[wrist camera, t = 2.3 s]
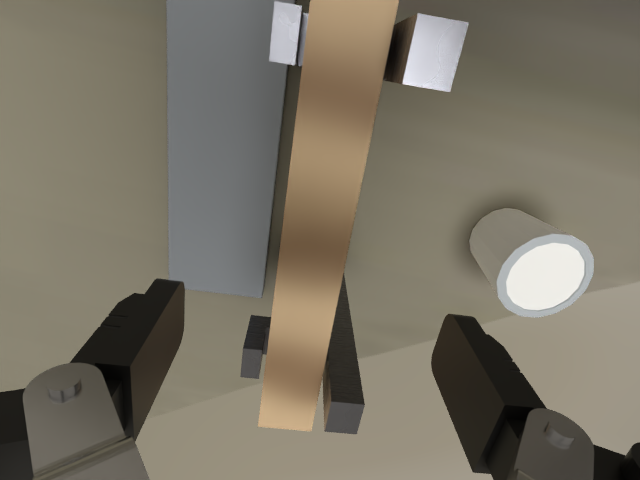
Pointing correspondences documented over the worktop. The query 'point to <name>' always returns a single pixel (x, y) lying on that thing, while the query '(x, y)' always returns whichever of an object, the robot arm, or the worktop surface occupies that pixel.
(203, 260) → the slate mat
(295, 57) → the charcoal rack
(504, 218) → the beige white-topped cylinder
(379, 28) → the oak rail
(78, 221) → the worktop surface
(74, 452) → the robot arm
